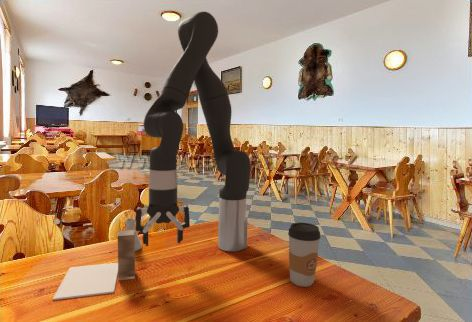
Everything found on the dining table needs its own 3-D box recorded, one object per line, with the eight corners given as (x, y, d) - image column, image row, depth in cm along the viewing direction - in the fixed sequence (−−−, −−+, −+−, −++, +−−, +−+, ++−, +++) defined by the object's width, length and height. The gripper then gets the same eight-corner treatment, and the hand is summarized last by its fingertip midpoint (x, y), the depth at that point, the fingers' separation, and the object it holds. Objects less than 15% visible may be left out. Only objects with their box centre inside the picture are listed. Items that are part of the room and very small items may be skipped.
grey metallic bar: (135, 271, 83) (134, 229, 81) (134, 278, 79) (134, 234, 78) (119, 273, 81) (119, 230, 80) (118, 280, 78) (117, 236, 76)
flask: (145, 245, 101) (145, 216, 100) (136, 253, 94) (136, 223, 93) (125, 243, 102) (124, 215, 101) (114, 252, 95) (114, 222, 94)
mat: (119, 263, 87) (119, 262, 87) (113, 292, 72) (113, 291, 72) (70, 268, 83) (70, 267, 83) (52, 300, 68) (52, 298, 68)
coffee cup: (299, 292, 74) (302, 234, 73) (279, 277, 81) (282, 224, 80) (324, 285, 78) (328, 229, 76) (303, 271, 85) (306, 220, 84)
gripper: (187, 182, 86) (187, 237, 88) (135, 184, 82) (136, 240, 83) (191, 187, 79) (190, 246, 80) (134, 189, 75) (135, 251, 76)
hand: (163, 243), depth 82 cm, fingers open, 8 cm apart
